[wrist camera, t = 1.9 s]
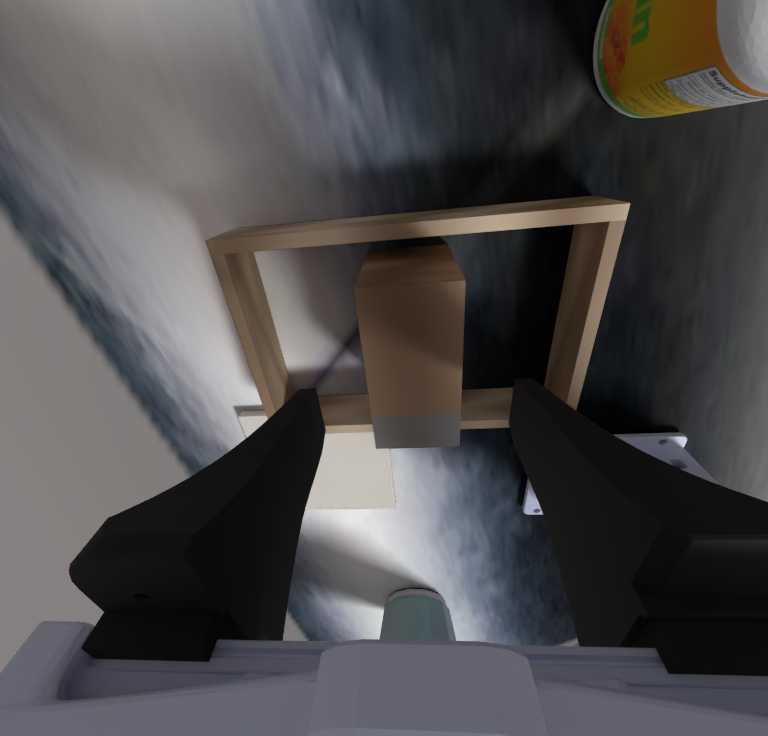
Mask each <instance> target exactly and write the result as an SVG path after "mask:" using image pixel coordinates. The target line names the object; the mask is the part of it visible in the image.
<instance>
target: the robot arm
mask: <svg viewBox="0 0 768 736" xmlns="http://www.w3.org/2000/svg"><path fill="white" fill-rule="evenodd" d="M509 427H510V430H511V434H512V438H513V442H514V445H515V448H516V451H517V453H518V456H519V458H520V460H521V463H522V465H523V467H524V470H525V472H526V474H527V477H528V480H527V486H526V491H525V496H524V501H523V506H522V508H523V511H524V513H525V514H529V515H530V514H543V515H544V518H545V522H546V525H547V528H548V531H549V535H550V538H551V541H552V544H553V548H554V551H555V555H556V558H557V562H558V565H559V569H560V572H561V576H562V579H563V583H564V587H565V591H566V594H567V598H568V602H569V606H570V609H571V613H572V618H573V622H574V626H575V630H576V634H577V638H578V643H576V644H575V645H574V646H525V645H502V644H495V643H487V642H478V641H425V640H371V639H361V640H351V641H341V642H320V641H283V633H284V625H285V618H286V611H287V604H288V597H289V591H290V584H291V578H292V572H293V566H294V561H295V555H296V549H297V544H298V539H299V534H300V529H301V524H302V519H303V515H304V511H305V507H306V504H307V501H308V498H309V494H310V491H311V488H312V485H313V481H314V478H315V475H316V472H317V468H318V465H319V462H320V458H321V455H322V450H323V445H324V438H325V432H326V429H325V425H324V420H323V416H322V412H321V408H320V404H319V400H318V395H317V391H316V388H312V389H300V390H298V391H297V392H296V393H295V394H294V395H293V396H292V397H291V398H290V399H289V400H288V401H287V402H286V403H285V404H284V405H283V406H282V407H281V408H280V409H278V410H277V411H276V412H275V413H274V414H273V415H272V416H271V417H270V418H269V419H268V420H267V421H266V422H265V423H263V424H262V425H261V426H260V427H259V428H258V429H257V430H255V431H254V432H253V433H252V434H251V435H250V436H248V437H247V438H246V439H245V440H244V441H242V442H241V443H240V444H239V445H237V446H236V447H235V448H233V449H232V450H231V451H229V452H228V453H226V454H225V455H224V456H222V457H221V458H219V459H218V460H217V461H215V462H213V463H212V464H210V465H209V466H207V467H206V468H204V469H202V470H201V471H199V472H198V473H196V474H194V475H193V476H191V477H190V478H188V479H186V480H184V481H183V482H181V483H179V484H177V485H175V486H174V487H172V488H170V489H168V490H166V491H164V492H162V493H161V494H159V495H157V496H155V497H153V498H151V499H149V500H147V501H144V502H142V503H140V504H138V505H136V506H134V507H132V508H129V509H127V510H125V511H123V512H121V513H118V514H116V515H114V516H112V517H109V518H108V519H107V520H106V521H105V522H104V523H103V525H102V526H101V527H100V528H99V530H98V531H97V532H96V533H95V534H94V536H93V537H92V538H91V539H90V541H89V542H88V543H87V544H86V546H85V547H84V548H83V549H82V550H81V552H80V553H79V554H78V555H77V556H76V558H75V559H74V560H73V561H72V563H71V564H70V568H69V574H70V577H71V580H72V582H73V583H74V584H75V585H76V586H77V587H78V588H79V590H81V591H82V592H83V593H84V594H85V595H86V596H87V597H88V598H89V599H91V600H92V601H93V602H94V603H95V604H96V605H97V606H98V607H99V608H101V609H102V610H103V611H104V613H103V615H102V616H101V618H100V620H99V621H98V623H97V624H96V626H94V625H92V624H89V623H86V622H72V621H70V622H69V621H67V622H65V621H44V622H41V623H39V624H38V625H37V627H36V628H35V629H34V631H33V632H32V633H31V635H30V636H29V637H28V638H27V640H26V641H25V642H24V643H23V645H22V646H21V647H20V649H19V650H18V651H17V653H16V654H15V655H14V656H13V657H12V659H11V660H10V661H9V663H8V664H7V665H6V666H5V668H4V669H3V670H2V672H1V673H0V736H768V502H766V501H763V500H760V499H757V498H754V497H751V496H748V495H745V494H743V493H740V492H737V491H734V490H731V489H728V488H726V487H723V486H721V485H719V484H718V483H717V482H716V481H715V480H714V479H713V478H712V477H711V476H710V475H709V474H708V473H707V472H706V471H705V470H704V469H703V468H702V467H701V466H700V465H699V464H698V463H697V462H696V461H695V459H694V458H693V457H692V456H691V455H690V454H689V453H688V452H687V451H686V450H685V449H684V446H685V444H686V442H687V437H686V436H685V435H684V434H683V433H679V432H676V433H643V434H611V433H609V432H608V431H606V430H605V429H603V428H601V427H600V426H598V425H597V424H595V423H594V422H592V421H591V420H589V419H588V418H586V417H585V416H583V415H582V414H580V413H579V412H577V411H576V410H575V409H573V408H572V407H571V406H569V405H568V404H566V403H565V402H564V401H562V400H561V399H560V398H558V397H557V396H556V395H554V394H553V393H552V392H551V391H549V390H548V389H547V388H545V387H544V386H543V385H541V384H540V383H539V382H537V381H536V380H535V379H533V378H523V379H514V387H513V394H512V402H511V409H510V417H509Z"/></svg>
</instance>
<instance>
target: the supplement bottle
mask: <svg viewBox="0 0 768 736" xmlns="http://www.w3.org/2000/svg"><path fill="white" fill-rule="evenodd" d="M593 69H594V75H595V80H596V83H597V86H598V89H599V91H600V93H601V95H602V96H603V98H604V99H605V100H606V102H607V103H608V104H609V105H610V106H611V107H613V108H614V109H615V110H617V111H618V112H620V113H622V114H624V115H627V116H630V117H635V118H653V117H662V116H669V115H676V114H682V113H687V112H693V111H700V110H706V109H712V108H718V107H724V106H730V105H736V104H742V103H748V102H754V101H760V100H766V99H768V0H607V1H606V3H605V6H604V8H603V11H602V13H601V16H600V19H599V23H598V26H597V30H596V34H595V40H594V47H593Z"/></svg>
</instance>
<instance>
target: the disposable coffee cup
mask: <svg viewBox="0 0 768 736" xmlns="http://www.w3.org/2000/svg"><path fill="white" fill-rule="evenodd" d="M380 640H425V641H456V638H455V633H454V629H453V625H452V620H451V616H450V612H449V609H448V607H447V606H446V603H445V600H444V599H443V598H442V597H441V596H440V595H439V594H437V593H434V592H431V591H429V590H424V589H407V590H402V591H397V592H395V593H394V594H392V595H391V596H390V597H388V602H387V604H386V605H385V609H384V615H383V622H382V628H381V634H380Z"/></svg>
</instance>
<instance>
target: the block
mask: <svg viewBox="0 0 768 736" xmlns="http://www.w3.org/2000/svg"><path fill="white" fill-rule="evenodd" d="M465 286H466V280H465V278H464V276H463V274H462V272H461V270H460V268H459V266H458V264H457V262H456V260H455V258H454V256H453V254H452V252H451V250H450V248H449V246H448V244H440V245H428V246H416V247H404V248H391V249H379V250H368V253H367V255H366V258H365V260H364V263H363V265H362V268H361V270H360V273H359V275H358V278H357V280H356V283H355V286H354V288H353V290H354V297H355V304H356V311H357V318H358V325H359V332H360V339H361V347H362V354H363V361H364V368H365V375H366V382H367V389H368V396H369V403H370V410H371V417H372V424H373V432H374V439H375V446H376V449H390V448H426V447H460V424H461V397H462V369H463V341H464V314H465Z"/></svg>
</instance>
